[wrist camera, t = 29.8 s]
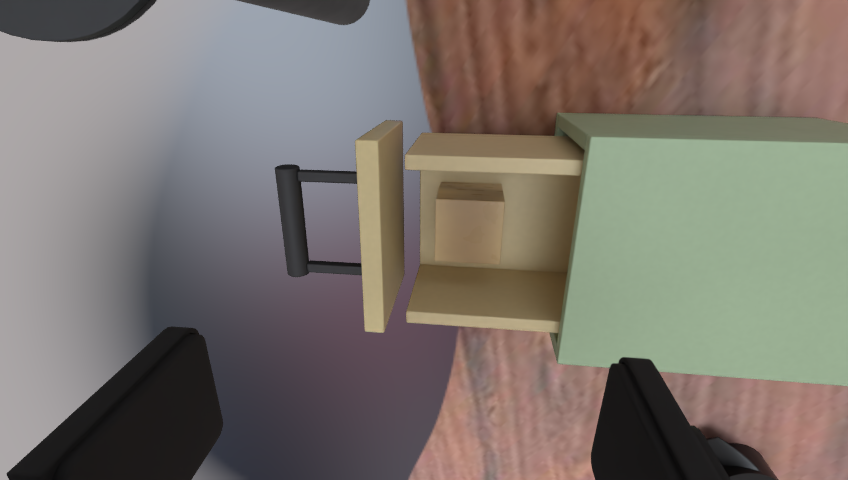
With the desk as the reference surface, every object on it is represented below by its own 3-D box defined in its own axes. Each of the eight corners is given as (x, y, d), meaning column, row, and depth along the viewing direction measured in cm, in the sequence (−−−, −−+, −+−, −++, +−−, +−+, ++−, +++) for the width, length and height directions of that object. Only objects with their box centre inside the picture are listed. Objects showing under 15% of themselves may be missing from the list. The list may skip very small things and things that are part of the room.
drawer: (316, 269, 34) (273, 325, 27) (302, 118, 30) (246, 137, 23) (585, 285, 32) (615, 350, 25) (611, 125, 28) (656, 148, 21)
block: (439, 237, 31) (434, 261, 27) (441, 181, 29) (435, 198, 26) (497, 240, 31) (500, 264, 27) (501, 183, 29) (505, 201, 25)
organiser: (536, 284, 34) (557, 364, 25) (556, 112, 29) (590, 136, 20) (756, 297, 32) (861, 387, 23) (816, 117, 27) (977, 146, 18)
